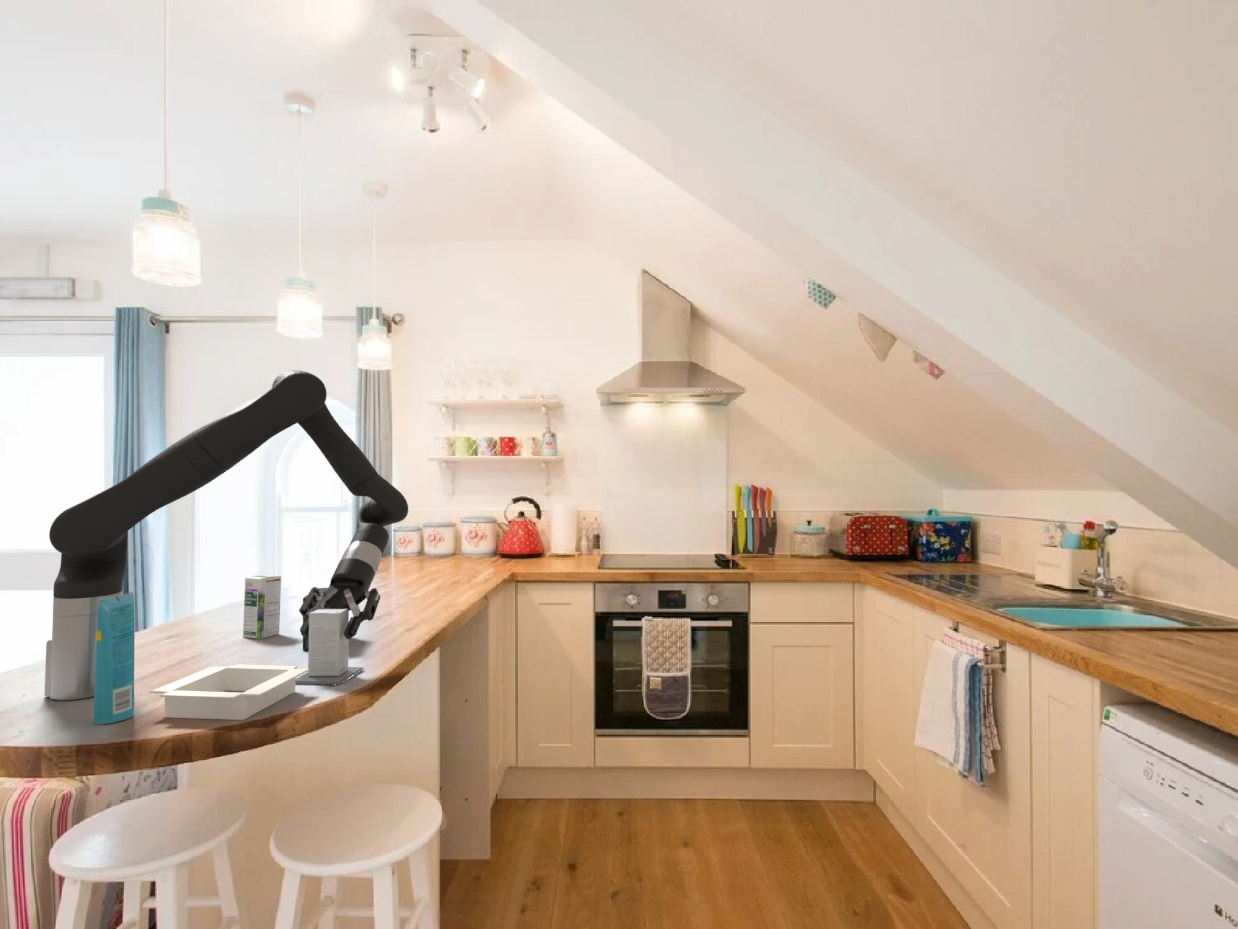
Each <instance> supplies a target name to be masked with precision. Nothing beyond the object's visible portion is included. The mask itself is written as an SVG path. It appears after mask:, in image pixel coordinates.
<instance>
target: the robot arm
mask: <svg viewBox="0 0 1238 929" xmlns="http://www.w3.org/2000/svg"><path fill="white" fill-rule="evenodd" d="M326 401H327V388H326V386H325V383H324V382H323V381H322V380H321V379H320V378H319V377H318V376H317V375H315V374H313V373H311V372H308V371H305V370H298V369H295V370H294V369H292V370H291V369H290V370H287V371H284V372H281V373H280V374H278V375H277V376H276V378H275V379H274V380H273V383H272V385H271V388H270V389H269V390H268V391H266V392H265V393H264V394H262V395H261V396H260V397H258V398H257V399H255V400H254V401H253V402H251V403H250V404H248V405H247V406H245V407H243V408H241V409H239V410H237V411H234V412H231V413H229V414H227V415H225V416H222V417H220V418H218V419H216V420H213V421H211V422H209V423H206V424H205V425H203V426H201V427H198V428H197V429H195V430H194V431H192V432H190V433H188V434H187V435H185V436H184V437H182V438H181V439H179V440H177V441H175V442H174V443H172V444H170V445H169V446H168V447H166V448H165V449H164V450H162V451H161V452H160V453H158V454H157V455H155V456H154V457H152V458H151V459H149V460H148V461H147V462H146V463H144V464H142V465H141V466H140V467H139V468H137V469H136V470H135V471H133V472H132V473H131V474H129V475H128V476H127V477H125V478H123V479H122V480H121V481H119V482H118V483H116V484H114V485H112V486H110V487H109V488H107V489H104V490H103V491H101V492H99V493H97V494H95V495H93V496H91V497H89V498H87V499H85V500H83V501H81V502H79V503H77V504H75V505H73V506H71V507H69V508H66V509H65V510H63V511H62V512H61V513H59V515H57V517H55V519H54V520H53V522H52V523H51V526H50V528H49V532H48V533H49V534H48V535H49V541H50V542H49V543H51V545H52V548H54V549H55V550H56V551H57V552H59V553H61V556H60V566H59V572H58V573H57V577H56V579H55V581H54V583H53V594H52V595H53V598H52V599H53V601H52V604H53V605H52V630H51V632H52V633H51V639H48V640H47V642H46V645H45V672H44V674H45V676H44V697H49V699H50V700H53V699H58V700H57V701H71V700H72V701H73V700H79V699H86V698H92V697H95V668H96V632H97V613H98V600H102V599H106V598H111V597H116V596H120V595H123V582H124V577H125V574H126V571H127V570H126V568H127V557H128V556H127V552H128V536H129V535H128V534H129V533H128V532H129V530H130V529H132V528H133V527H135V526H136V525H137V524H139V523H140V522H141V521H143V520H144V519H145V518H147V517H148V516H150V515H151V514H153V513H154V512H156V511H157V510H159V509H162V508H163V507H166V506H167V505H170V504H171V503H173V502H175V501H178V500H180V499H182V498H184V497H186V496H188V495H190V494H192V493H194V492H195V491H197V490H200V489H201V488H202V487H205V486H206V485H208V484H209V483H212V481H214V480H215V479H217V478H218V477H220V476H221V475H223V474H224V473H226V472H227V471H229V470H230V469H232V468H233V467H234V466H236V465H237V464H239V463H240V462H242V461H243V460H244V459H246V458H247V457H248V456H250V455H251V454H253V453H254V452H255V451H256V450H258V448H260V447H261V446H263V445H264V443H266V442H267V441H269V440H270V439H271V438H274V436H276V435H278V434H279V433H281V432H283V431H284V430H286V429H289V428H290V427H293V426H294V425H296V424H298V425H299V426H300V428H302V430H303V431H304V432H305V433H306V434H307V436H309V438H310V439H311V441H313V443H314V444H315V446H317V448H318V449H319V450H320V452H321V453H322V455H323V456H324V458H325V459H326V461H327V462H328V464H329V465H330V467H331V468H332V469H333V471H334V472H335V474H336V475H337V476H338V477H339V479H340V481H341V482H342V483H343V484H344V486H345V487H346V488H347V490H348V491H349V492H350V493H351V494H352V495H353V496H355V497H368V498H369V499H367V500H365V501H364V502H363V503H362V505H361V507H360V508H359V510H358V514H357V522H356V531H355V533H354V535H353V536H352V539H351V541H350V543H349V545H348V546H347V548H346V549H345V551H344V552H343V554H342V556H341V558H340V560H339V562H338V564H337V566H336V568H335V570H334V572H333V574H332V576H331V579H330V583H329V585H328V587H326V588H327V589H326V590H318V589H317V588H318V587H317V586H314V587H311V589H310V590H309V592H308V594H307V595H308V596H307V595H306V596H307V597H306V599H305V601H304V602H303V601H302V603H301V605H300V607H299V610H298V612H299V613H300V614H301V616H302V618H303V617H304V619H305V620H304V622H303V621H302V624H301V626H300V627H299V628H300V629H299V632H300V635H301V637H302V638H303V637H304V638H309V613H311V612H313V611H316V610H318V609H349V612H350V611H351V613H352V616H350V619H349V622H348V625H347V627H346V629H345V632H344V636H345V637H346V639H348V640H352V639H353V637H355V636H356V635H357V633H358V630H359V628H360V626H361V624H362V623H363V622H364V621H372V620H373V619H374V617H375V615H376V612H377V609H378V606H379V603H380V600H381V595H380V592H379V591H378V589H377V588H375V587H374V588H373V587H372V588H371V585H372V583H373V581H374V578H375V576H376V573H377V571H378V569H379V566H380V563H381V559H382V557H383V554H384V552H385V550H386V548H387V545H388V542H389V539H390V536H389V532H388V529H386V528H385V527H386V526H390V525H392V524H397V523H400V522H402V521H404V520H406V518H407V516H408V514H409V504H408V501H407V499H406V497H405V496H404V495H403V493H402V492H400V491H399V490H398V489H397V488H396V487H395V486H393V485H392V483H390V482H388V481H387V479H385V478H384V477H382V475H380V474H379V473H378V471H377V470H376V469H375V468H374V466H373V464H372V463H371V461H370V460H369V459H368V458H367V456H366V455H365V454H364V452H363V451H362V450H361V448H359V446H358V445H357V444H356V443H355V442H354V440H352V438H351V437H350V436H349V435H348V434H347V433H346V432H345V430H344V429H343V428H342V427H341V425H340V424H339V423H338V422H337V421H336V419H335V418H334V416H333V415H332V413H331V411H330V410H329V408H328V406H327V404H326ZM370 588H371V589H370ZM323 597H324V598H323ZM365 600H366V602H365V605H364V608H363V610H362V611H361V609H360V606H359V605H360V604H361V603H362V602H364V601H365ZM326 603H327V606H328V607H327V608H324V605H325V604H326Z"/></svg>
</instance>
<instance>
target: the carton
mask: <svg viewBox="0 0 1238 929" xmlns="http://www.w3.org/2000/svg"><path fill="white" fill-rule="evenodd" d="M308 671H309V669H308V668H298V665H272V664H271V665H267V664H265V665H263V664H233V665H230V666H210V667H207V668H205V669H203V670H200V671H197V672H195V673H192V674H190V675H187V676H185V677H182V678H180V679H177V680H175V681H172V682H170V683H166V684H164V685H162V686H159V687H158V688H157V687H156V688H154V689H152V690H150V692H149V693H150V694H160V698H164V708H163V709H164V711H163V712H164V716H163V717H164V718H175V719H179V718H180V719H204V720H205V719H206V720H208V719H209V720H230V721H231V720H232V721H233V720H235V721H236V720H237V721H245V720H246V719H248V718H251V716H253V715H256V714H257V713H258V712H260V711H262V710H264V709H266V708H268V707H269V706H272V705H273V704H276V703H277V702H279V701H281V700H282V699H284V698H286V697H288V696H289V695H292V694H293V693H295V692H296V684H295V679H296V678H298V677H300V676H302V675H304V674H306V673H308ZM230 691H231V692H230ZM235 691H236V692H235Z"/></svg>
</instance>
